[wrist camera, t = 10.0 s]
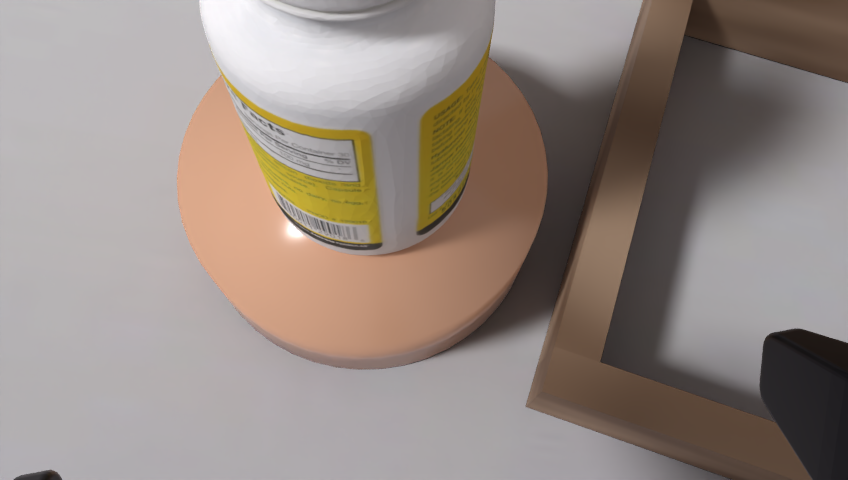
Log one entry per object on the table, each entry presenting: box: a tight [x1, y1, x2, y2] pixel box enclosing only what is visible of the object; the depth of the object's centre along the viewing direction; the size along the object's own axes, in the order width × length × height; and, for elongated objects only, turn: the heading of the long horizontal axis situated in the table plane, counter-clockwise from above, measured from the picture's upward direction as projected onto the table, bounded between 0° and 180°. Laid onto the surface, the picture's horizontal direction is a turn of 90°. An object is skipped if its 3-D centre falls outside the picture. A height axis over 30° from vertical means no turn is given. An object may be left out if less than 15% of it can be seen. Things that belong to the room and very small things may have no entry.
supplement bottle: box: [199, 0, 495, 256], centre depth 15 cm, size 5×5×10 cm
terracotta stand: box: [177, 57, 548, 370], centre depth 21 cm, size 10×10×3 cm
